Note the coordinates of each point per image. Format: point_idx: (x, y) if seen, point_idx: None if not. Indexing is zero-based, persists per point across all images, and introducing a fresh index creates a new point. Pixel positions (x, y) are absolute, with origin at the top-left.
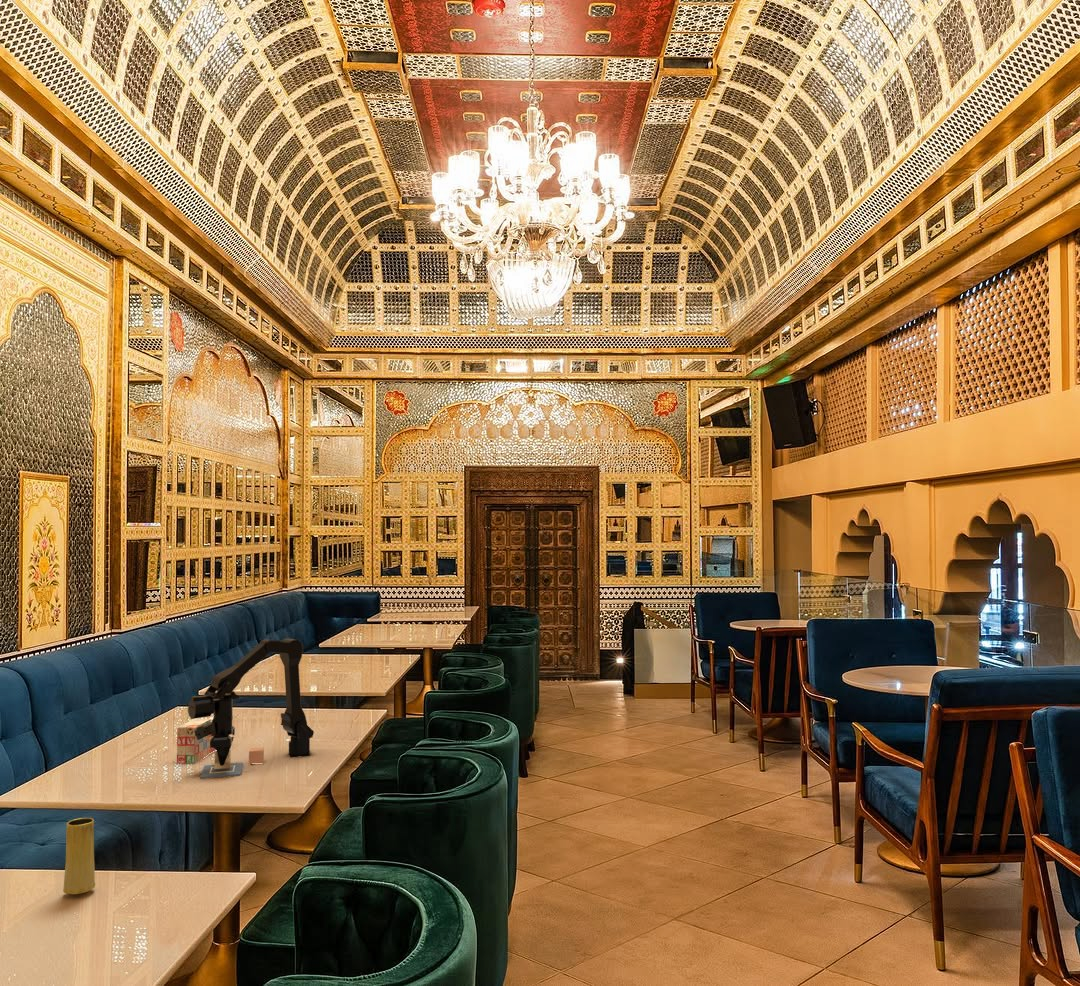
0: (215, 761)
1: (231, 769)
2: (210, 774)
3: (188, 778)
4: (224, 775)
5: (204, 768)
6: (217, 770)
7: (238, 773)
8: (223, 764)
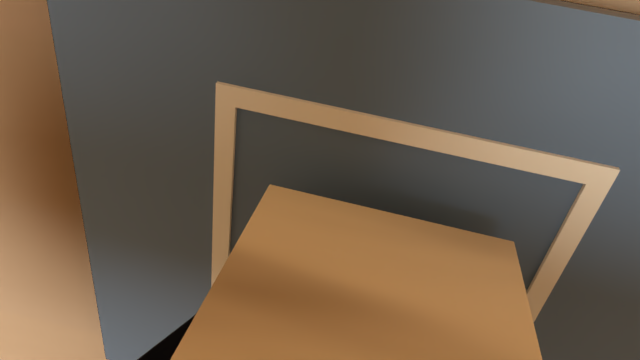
0: (224, 283)
1: None
2: (149, 90)
3: None
4: (91, 232)
5: (632, 43)
6: None
7: (121, 347)
8: None
